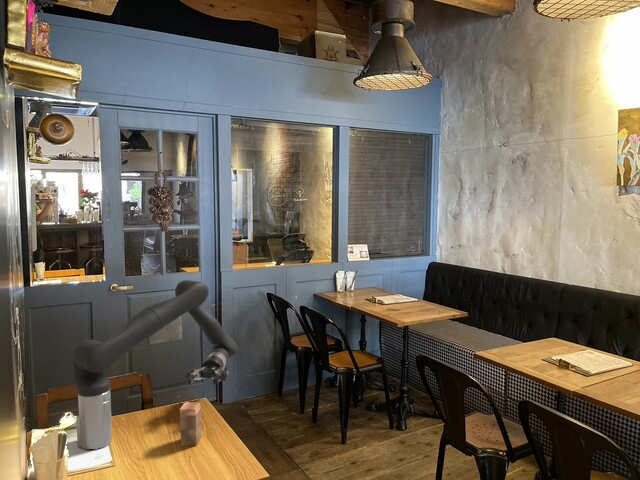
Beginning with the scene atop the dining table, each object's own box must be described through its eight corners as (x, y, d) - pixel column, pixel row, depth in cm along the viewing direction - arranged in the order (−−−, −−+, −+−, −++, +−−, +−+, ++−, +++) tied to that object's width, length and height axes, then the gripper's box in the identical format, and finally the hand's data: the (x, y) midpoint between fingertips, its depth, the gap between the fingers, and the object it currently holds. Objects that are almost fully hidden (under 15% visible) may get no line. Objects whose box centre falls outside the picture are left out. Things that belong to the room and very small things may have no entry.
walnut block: (180, 445, 153) (179, 409, 152) (185, 437, 158) (185, 402, 157) (196, 445, 153) (195, 409, 152) (201, 437, 158) (200, 402, 157)
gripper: (195, 355, 183) (181, 371, 167) (232, 355, 182) (222, 372, 166) (195, 374, 184) (182, 392, 168) (233, 374, 183) (222, 392, 167)
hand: (202, 382), depth 167 cm, fingers open, 8 cm apart
